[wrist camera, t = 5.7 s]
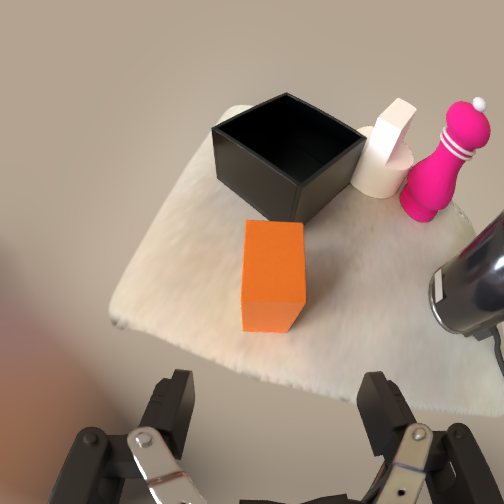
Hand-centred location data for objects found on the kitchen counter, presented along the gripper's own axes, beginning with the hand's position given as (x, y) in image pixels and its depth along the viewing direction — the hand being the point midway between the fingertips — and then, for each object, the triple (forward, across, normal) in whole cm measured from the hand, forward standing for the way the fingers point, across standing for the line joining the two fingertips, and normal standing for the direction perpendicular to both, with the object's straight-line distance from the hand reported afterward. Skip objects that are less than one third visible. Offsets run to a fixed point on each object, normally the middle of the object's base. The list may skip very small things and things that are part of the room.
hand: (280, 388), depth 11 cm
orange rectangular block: (+17, 0, -4) cm, 17 cm away
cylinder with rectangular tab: (+31, +16, +10) cm, 36 cm away
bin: (+29, +2, +8) cm, 30 cm away
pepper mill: (+27, +22, +6) cm, 36 cm away
